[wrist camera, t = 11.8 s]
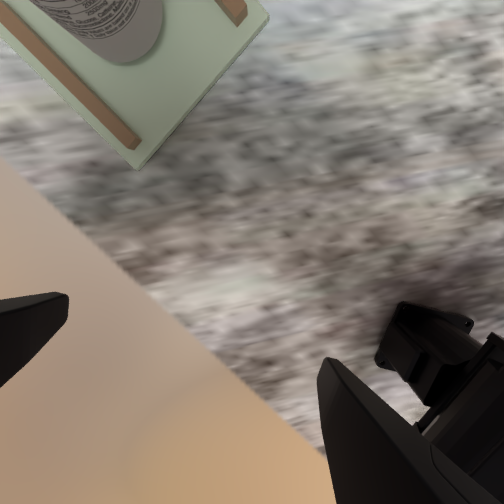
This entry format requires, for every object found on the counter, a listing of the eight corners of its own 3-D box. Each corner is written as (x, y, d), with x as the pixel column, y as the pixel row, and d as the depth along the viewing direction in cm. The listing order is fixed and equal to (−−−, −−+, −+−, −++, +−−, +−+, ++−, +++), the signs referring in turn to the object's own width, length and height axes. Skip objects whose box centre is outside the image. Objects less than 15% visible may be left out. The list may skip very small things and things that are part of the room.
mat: (268, 20, 17) (269, 4, 16) (139, 170, 20) (129, 169, 18) (108, -177, 15) (91, -218, 14) (-12, 21, 18) (-38, 5, 16)
